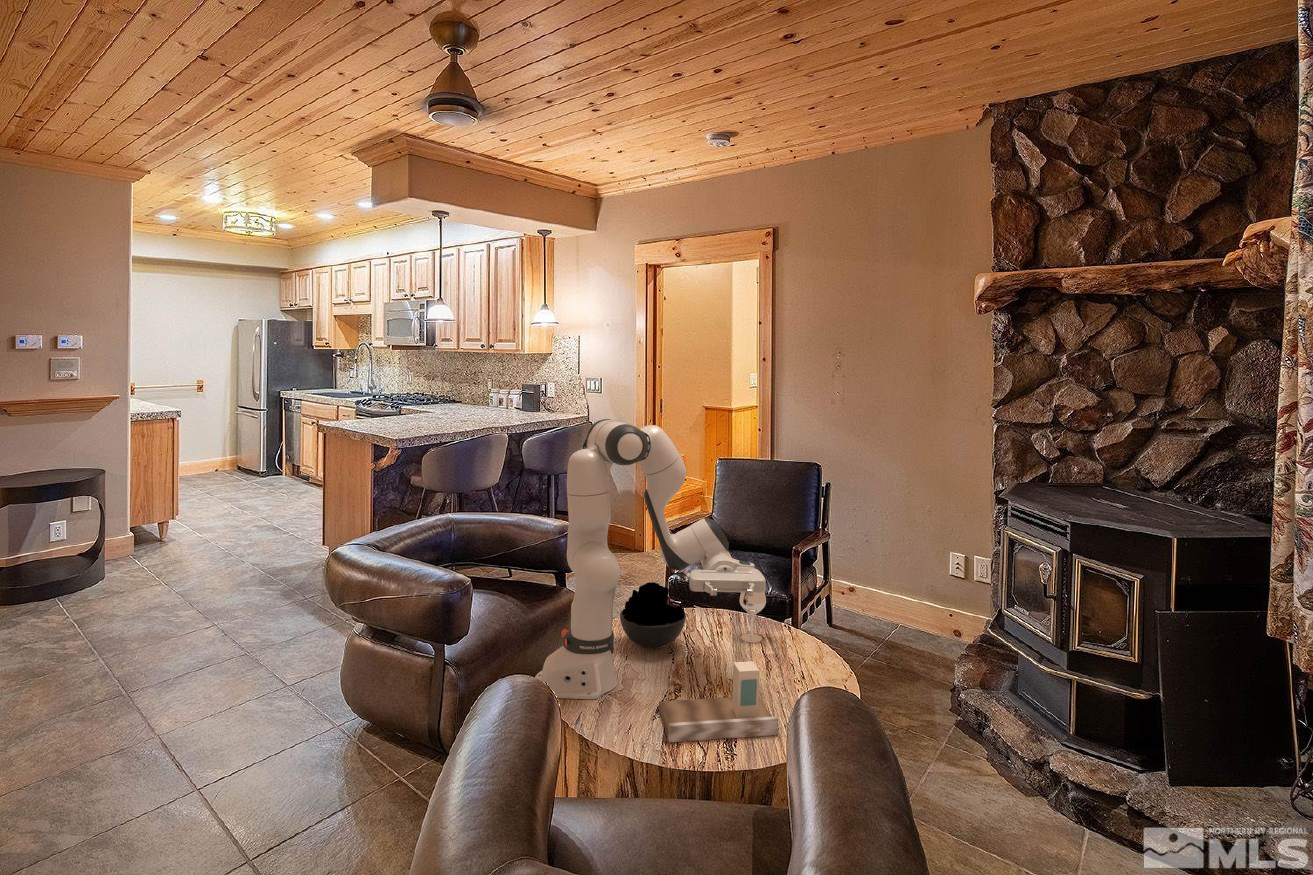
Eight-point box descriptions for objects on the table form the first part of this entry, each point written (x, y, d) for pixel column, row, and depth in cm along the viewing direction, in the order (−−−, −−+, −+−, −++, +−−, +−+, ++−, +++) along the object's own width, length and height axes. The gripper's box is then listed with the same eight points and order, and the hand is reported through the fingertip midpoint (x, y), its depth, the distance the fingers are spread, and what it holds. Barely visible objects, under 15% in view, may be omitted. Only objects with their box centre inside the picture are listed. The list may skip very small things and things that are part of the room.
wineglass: (733, 637, 220) (734, 582, 218) (749, 631, 226) (751, 577, 224) (753, 646, 215) (755, 589, 212) (769, 638, 220) (771, 583, 218)
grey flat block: (669, 742, 160) (669, 726, 160) (658, 708, 176) (659, 693, 175) (778, 735, 164) (778, 719, 164) (758, 702, 180) (759, 688, 179)
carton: (732, 708, 172) (733, 662, 171) (751, 707, 173) (753, 661, 172) (737, 719, 167) (739, 671, 166) (757, 718, 168) (759, 670, 167)
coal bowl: (678, 631, 225) (680, 575, 222) (690, 658, 205) (692, 596, 203) (616, 634, 222) (617, 576, 220) (622, 661, 202) (623, 598, 200)
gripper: (685, 561, 191) (692, 580, 177) (759, 563, 193) (771, 582, 179) (684, 583, 192) (691, 604, 178) (757, 584, 194) (769, 605, 180)
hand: (732, 593), depth 179 cm, fingers open, 8 cm apart
